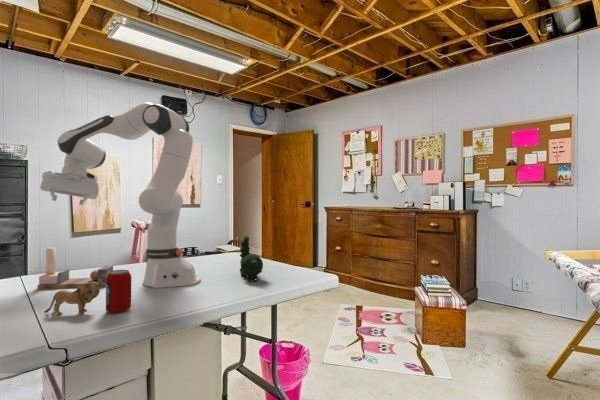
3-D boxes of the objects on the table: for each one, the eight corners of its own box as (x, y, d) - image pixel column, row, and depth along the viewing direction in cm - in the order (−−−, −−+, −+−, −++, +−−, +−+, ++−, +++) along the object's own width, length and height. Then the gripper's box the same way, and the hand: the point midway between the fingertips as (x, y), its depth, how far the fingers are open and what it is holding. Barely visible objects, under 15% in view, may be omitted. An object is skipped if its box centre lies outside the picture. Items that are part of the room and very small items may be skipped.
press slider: (69, 278, 135) (70, 246, 135) (59, 283, 127) (60, 249, 127) (49, 279, 133) (50, 247, 133) (38, 284, 125) (39, 249, 125)
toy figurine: (234, 276, 156) (244, 284, 133) (234, 236, 158) (244, 236, 135) (254, 275, 160) (267, 282, 136) (254, 235, 161) (266, 236, 138)
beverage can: (112, 307, 104) (112, 269, 104) (134, 307, 105) (135, 269, 105) (101, 314, 97) (101, 273, 98) (125, 314, 98) (125, 273, 98)
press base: (116, 280, 139) (116, 265, 139) (108, 286, 130) (108, 269, 130) (51, 282, 134) (51, 266, 134) (37, 289, 124) (37, 271, 124)
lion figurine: (102, 308, 103) (102, 279, 103) (95, 314, 98) (96, 283, 98) (48, 311, 100) (48, 281, 100) (38, 317, 95) (39, 286, 95)
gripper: (44, 165, 136) (37, 192, 129) (101, 177, 148) (97, 202, 141) (42, 174, 140) (35, 201, 132) (98, 185, 152) (94, 210, 144)
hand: (67, 202), depth 137 cm, fingers open, 8 cm apart
